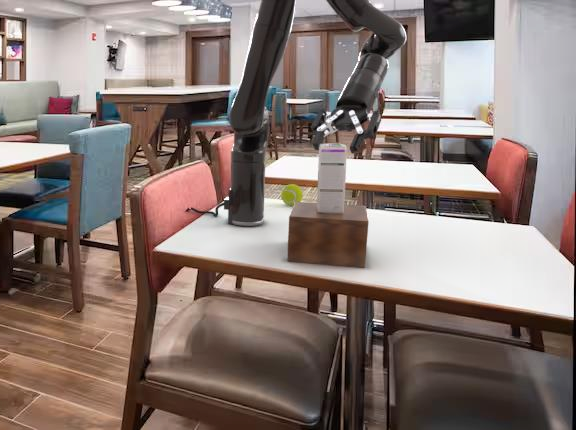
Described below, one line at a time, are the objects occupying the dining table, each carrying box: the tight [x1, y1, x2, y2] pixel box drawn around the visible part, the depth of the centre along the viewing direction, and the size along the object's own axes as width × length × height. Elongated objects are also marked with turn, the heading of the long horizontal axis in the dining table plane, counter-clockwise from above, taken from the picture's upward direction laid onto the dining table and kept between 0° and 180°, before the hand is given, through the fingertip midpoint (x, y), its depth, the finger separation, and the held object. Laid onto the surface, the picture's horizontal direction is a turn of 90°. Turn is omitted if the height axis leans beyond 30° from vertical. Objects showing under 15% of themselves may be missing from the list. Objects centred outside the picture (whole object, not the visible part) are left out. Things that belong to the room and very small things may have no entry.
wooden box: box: [286, 201, 369, 269], centre depth 120 cm, size 16×15×10 cm
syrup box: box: [316, 142, 348, 214], centre depth 117 cm, size 6×6×14 cm
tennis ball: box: [280, 183, 304, 207], centre depth 169 cm, size 7×7×7 cm
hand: (333, 149), depth 116 cm, fingers open, 8 cm apart
